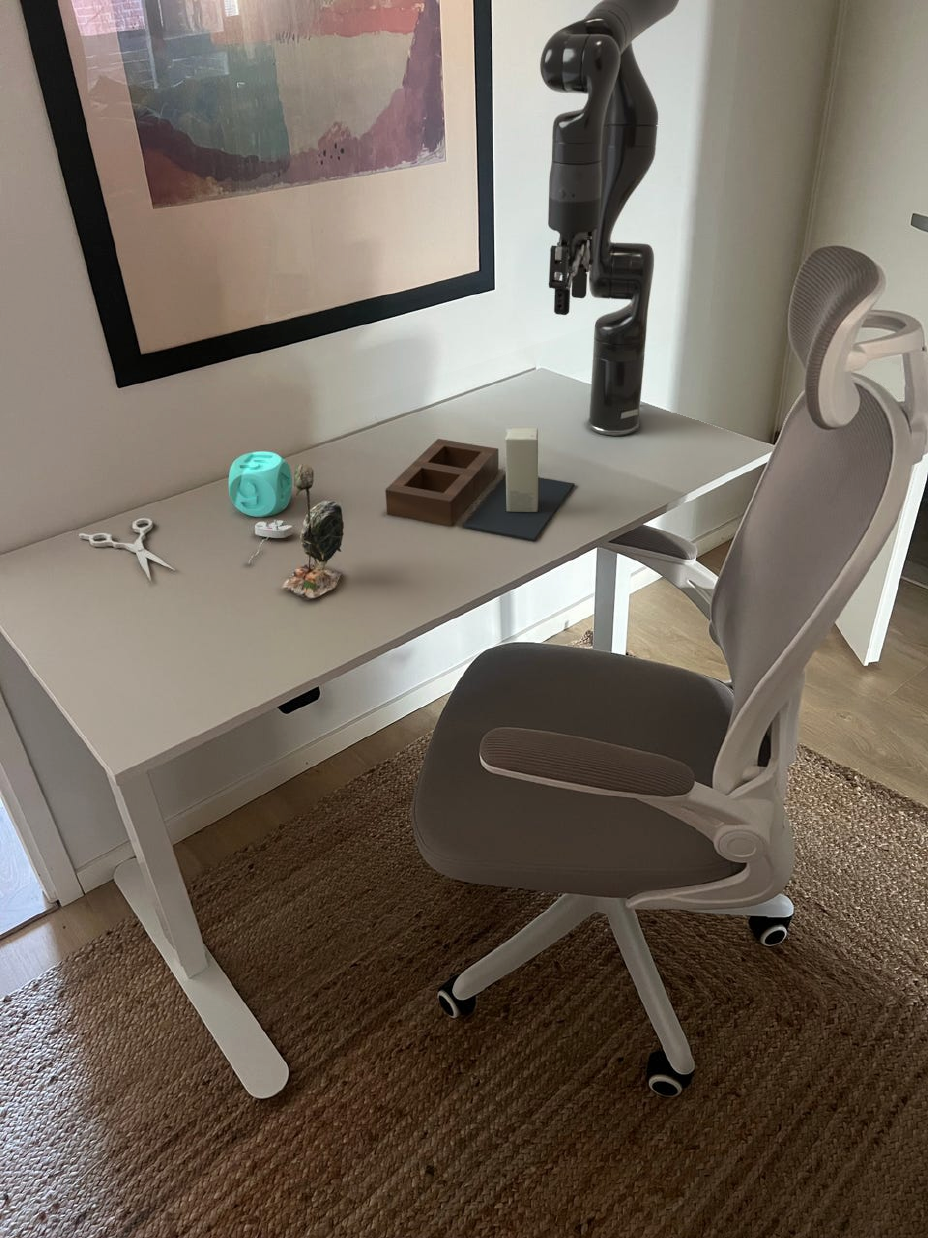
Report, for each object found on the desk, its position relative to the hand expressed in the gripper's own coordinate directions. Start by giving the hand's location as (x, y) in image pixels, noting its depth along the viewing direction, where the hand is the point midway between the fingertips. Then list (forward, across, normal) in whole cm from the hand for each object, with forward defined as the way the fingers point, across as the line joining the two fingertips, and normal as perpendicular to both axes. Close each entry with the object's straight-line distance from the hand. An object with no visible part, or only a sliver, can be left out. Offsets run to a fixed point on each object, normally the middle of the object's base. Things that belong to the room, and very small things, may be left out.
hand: (570, 305), depth 152 cm
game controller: (+29, -38, +36) cm, 60 cm away
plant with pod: (+29, -44, +23) cm, 58 cm away
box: (+29, -13, +3) cm, 32 cm away
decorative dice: (+30, -27, +43) cm, 59 cm away
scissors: (+29, -47, +53) cm, 77 cm away
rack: (+30, -12, +17) cm, 36 cm away
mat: (+30, -12, +3) cm, 32 cm away
